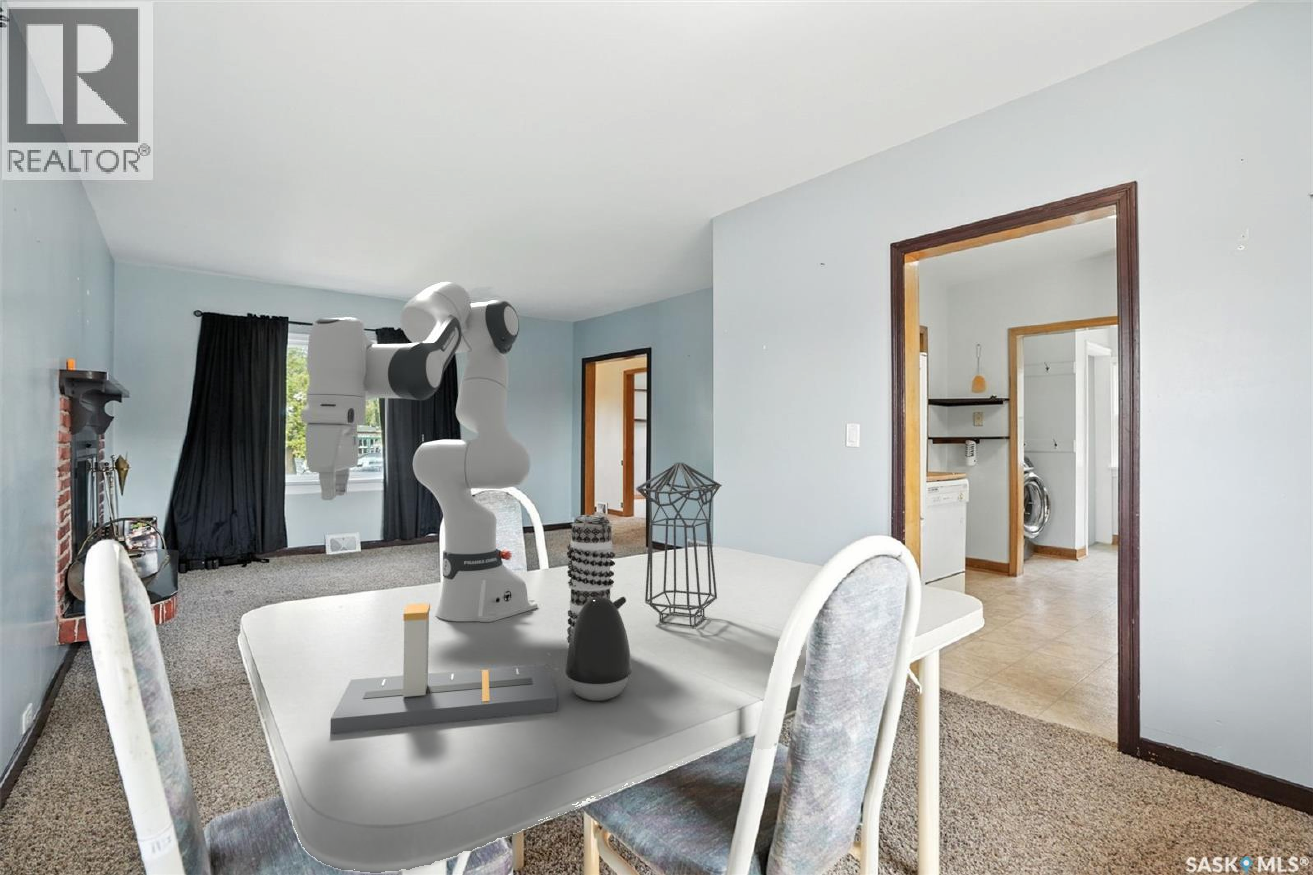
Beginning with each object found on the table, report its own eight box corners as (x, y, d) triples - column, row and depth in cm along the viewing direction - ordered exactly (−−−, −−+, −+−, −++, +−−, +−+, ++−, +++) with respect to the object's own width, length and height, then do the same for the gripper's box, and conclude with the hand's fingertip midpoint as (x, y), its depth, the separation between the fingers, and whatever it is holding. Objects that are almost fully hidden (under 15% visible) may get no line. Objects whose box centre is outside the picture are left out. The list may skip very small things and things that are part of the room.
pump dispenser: (645, 694, 99) (646, 597, 99) (593, 714, 92) (594, 609, 92) (603, 676, 106) (605, 585, 106) (552, 693, 99) (553, 596, 99)
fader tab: (402, 697, 91) (403, 613, 91) (406, 683, 96) (407, 604, 96) (425, 695, 92) (427, 612, 92) (428, 681, 97) (429, 603, 97)
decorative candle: (555, 646, 121) (557, 515, 121) (592, 636, 127) (595, 512, 127) (585, 659, 114) (587, 520, 114) (623, 647, 121) (625, 516, 121)
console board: (330, 733, 84) (330, 717, 85) (350, 692, 98) (351, 678, 98) (556, 711, 93) (556, 696, 93) (546, 676, 106) (547, 663, 106)
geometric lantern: (701, 635, 130) (699, 464, 130) (633, 625, 137) (631, 463, 137) (727, 615, 144) (725, 460, 144) (664, 607, 151) (662, 460, 151)
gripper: (330, 415, 114) (328, 492, 114) (298, 410, 95) (296, 503, 95) (367, 416, 116) (366, 492, 116) (344, 412, 96) (342, 503, 96)
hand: (334, 497), depth 105 cm, fingers open, 7 cm apart
